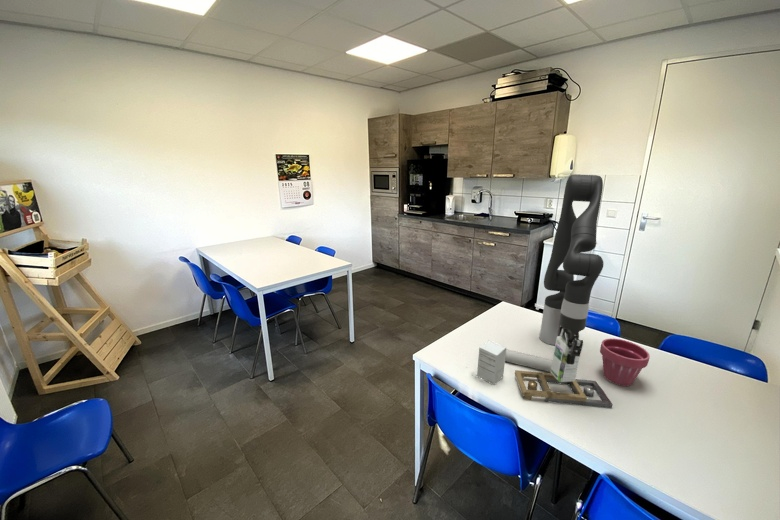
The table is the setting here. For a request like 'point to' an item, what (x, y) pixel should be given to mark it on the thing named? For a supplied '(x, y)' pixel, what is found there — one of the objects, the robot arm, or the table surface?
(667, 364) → the table surface
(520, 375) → the tan wooden frame
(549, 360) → the tube
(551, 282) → the robot arm
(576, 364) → the syrup box
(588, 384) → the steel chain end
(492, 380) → the supplement box
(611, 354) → the plant pot
